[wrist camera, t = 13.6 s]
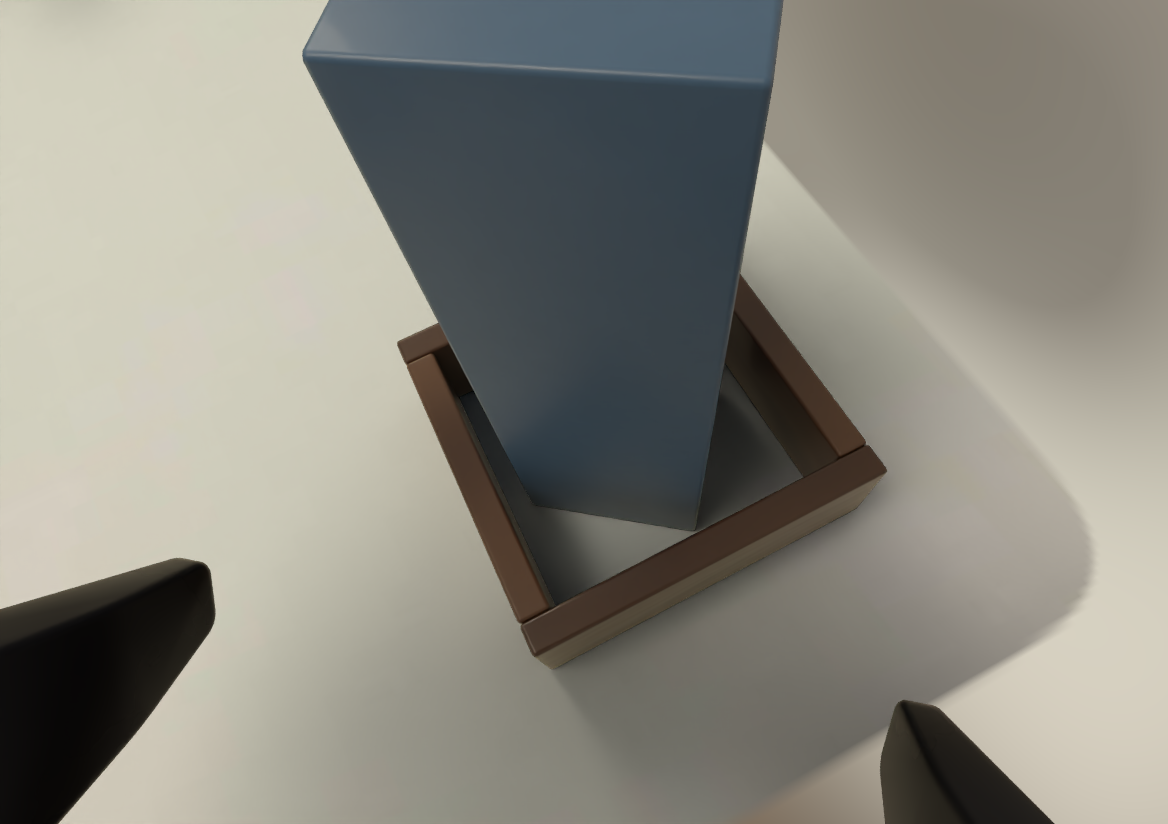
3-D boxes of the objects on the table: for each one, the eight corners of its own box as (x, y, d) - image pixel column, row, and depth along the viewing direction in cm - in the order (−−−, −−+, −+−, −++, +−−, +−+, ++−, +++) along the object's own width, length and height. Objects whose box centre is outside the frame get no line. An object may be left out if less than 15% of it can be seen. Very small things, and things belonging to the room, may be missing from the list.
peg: (695, 532, 17) (773, 83, 5) (531, 505, 17) (295, 55, 6) (715, 383, 18) (809, -204, 7) (565, 363, 19) (428, -200, 8)
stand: (858, 508, 16) (889, 469, 14) (550, 671, 16) (532, 658, 13) (686, 266, 20) (690, 206, 18) (425, 389, 19) (394, 341, 17)
